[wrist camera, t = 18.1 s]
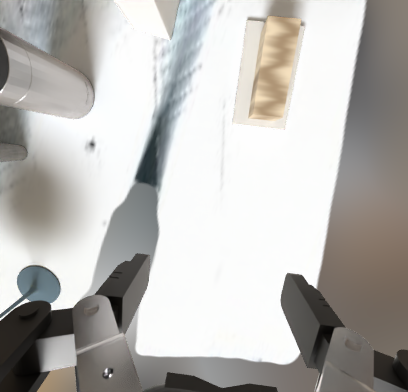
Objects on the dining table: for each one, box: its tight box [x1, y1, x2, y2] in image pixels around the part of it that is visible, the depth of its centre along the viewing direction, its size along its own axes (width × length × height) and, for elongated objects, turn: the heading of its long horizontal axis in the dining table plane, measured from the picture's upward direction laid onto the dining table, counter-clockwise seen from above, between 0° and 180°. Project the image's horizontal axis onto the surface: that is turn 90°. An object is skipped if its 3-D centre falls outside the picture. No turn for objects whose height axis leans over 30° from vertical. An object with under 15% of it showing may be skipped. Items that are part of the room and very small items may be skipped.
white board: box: [232, 20, 305, 130], centre depth 38 cm, size 10×17×1 cm, turn 174°
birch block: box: [248, 16, 301, 121], centre depth 35 cm, size 5×5×14 cm
